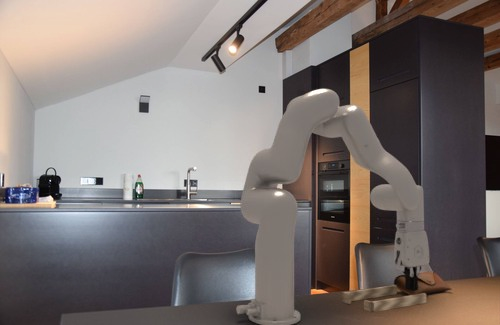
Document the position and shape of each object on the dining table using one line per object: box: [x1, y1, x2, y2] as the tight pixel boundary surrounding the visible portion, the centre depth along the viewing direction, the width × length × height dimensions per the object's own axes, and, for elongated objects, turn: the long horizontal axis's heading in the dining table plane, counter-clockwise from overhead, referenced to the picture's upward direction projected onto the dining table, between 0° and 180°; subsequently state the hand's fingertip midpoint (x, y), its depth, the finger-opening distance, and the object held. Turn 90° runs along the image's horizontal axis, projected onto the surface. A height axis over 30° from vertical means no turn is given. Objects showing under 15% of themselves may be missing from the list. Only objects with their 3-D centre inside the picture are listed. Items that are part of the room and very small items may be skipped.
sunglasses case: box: [393, 270, 453, 296], centre depth 133 cm, size 18×7×7 cm, turn 121°
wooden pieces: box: [341, 284, 427, 313], centre depth 121 cm, size 20×12×2 cm, turn 117°
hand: (411, 289), depth 126 cm, fingers closed
